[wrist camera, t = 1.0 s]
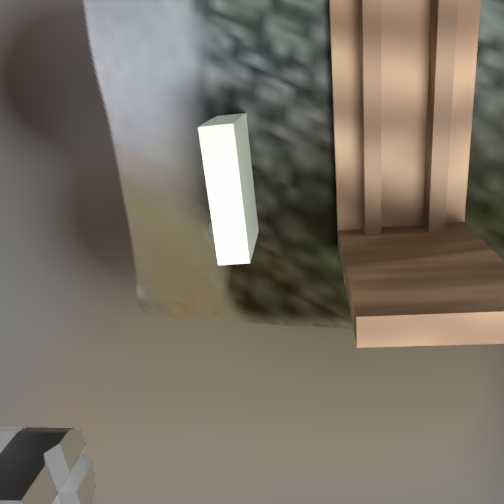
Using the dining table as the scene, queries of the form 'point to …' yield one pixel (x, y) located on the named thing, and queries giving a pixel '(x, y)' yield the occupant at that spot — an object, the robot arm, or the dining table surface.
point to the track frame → (409, 174)
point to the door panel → (229, 187)
